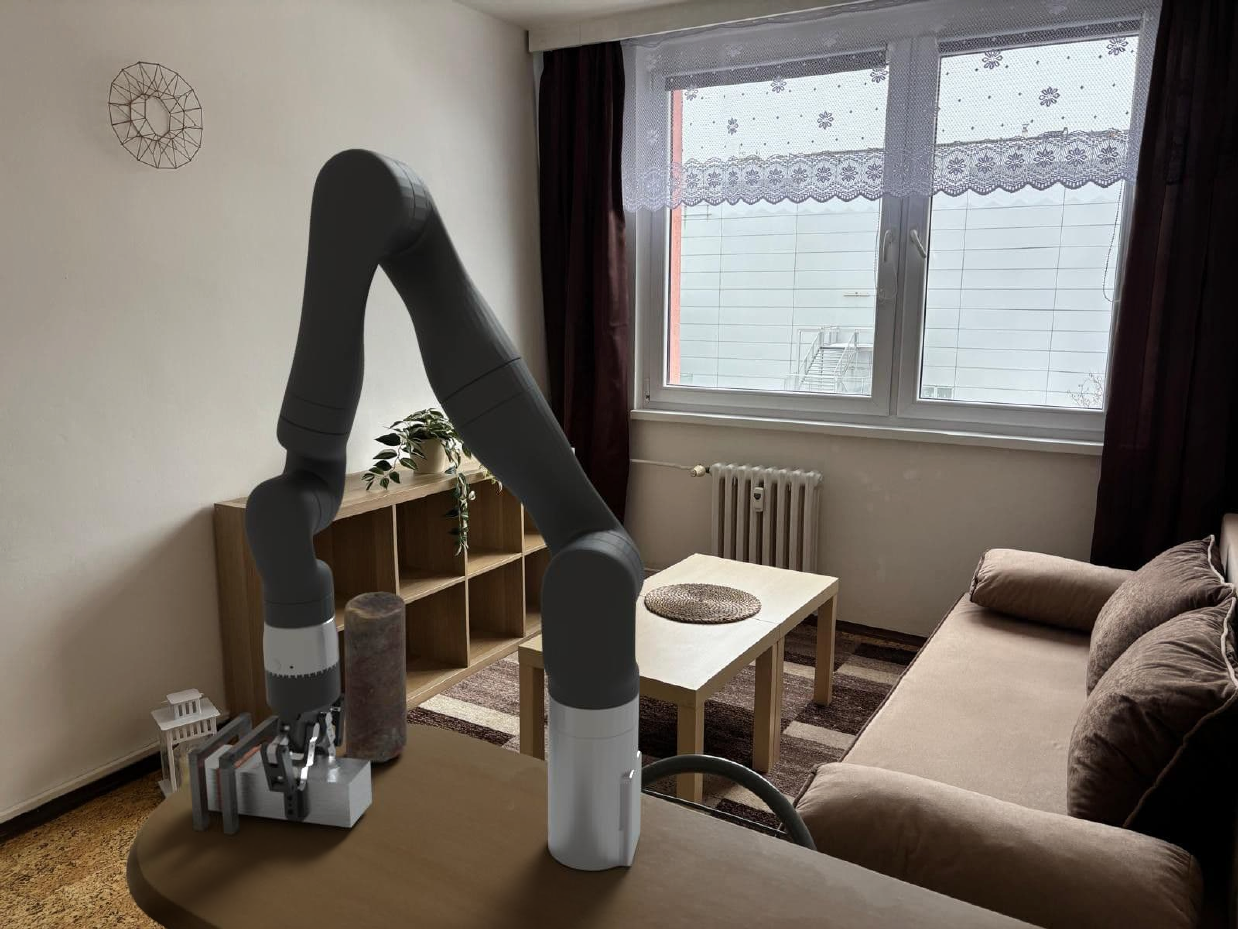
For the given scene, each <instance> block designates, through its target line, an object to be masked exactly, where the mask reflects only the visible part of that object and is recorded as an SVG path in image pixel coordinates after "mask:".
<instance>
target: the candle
mask: <svg viewBox="0 0 1238 929" xmlns="http://www.w3.org/2000/svg"><path fill="white" fill-rule="evenodd" d="M343 631H344V632H343V634H344V683H345V686H344V687H345V688H344V689H345V690H344V691H345V693H344V694H345V695H346V704H345V718H344V728H345V754H346V758H352V759H361V760H370V763H372V764H373V763H380V764H381V763H385V762H387V761H389V760H390V759H393V758H395V757H397V756H398V755H399V754H400V753H401V752H403V750H404V749H406V747H407V745H408V717H407V715H408V712H407V711H408V710H407V709H408V707H407V706H408V705H407V704H408V703H407V671H406V670H407V667H406V666H407V664H406V663H407V662H406V657H407V656H406V603H405V600H404V598H403V597H402V596H400V595H398V594H394V593H393V592H391V593H390V592H388V591H387V592H386V591H378V592H377V591H376V592H365V593H362V594H359V595H357V596H354V597H353V598H352V599H350V600H348V601H347V603H345V606H344V612H343Z"/></svg>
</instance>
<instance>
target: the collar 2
mask: <svg viewBox="0 0 1238 929" xmlns="http://www.w3.org/2000/svg"><path fill="white" fill-rule="evenodd" d="M278 719H279V716H278V715H270V716H268V717H267V718H266V719H265V720H263V721H262V722H261V723H260V724H258V725H257V726H256V727H254V729H253V728H252V731H251V732H250V733H248V734H247V735H246V736H245V737H243V738H242V739H241V740H240V741H239V740H238V741H237V742H236V743H235V744H233V745H234V746H232V747H231V748H230V749H229V750H227V751H226V752H225V753H224V754H222V755H221V756H220V757H219V758H218V759H219V773H220V786H221V800H222V813H221V814H222V823H223V824H222V825H223V834H224V835H231V836H233V835H235V833H236V832H238V830H239V829H240V821H239V814H238V803H237V789H236V775H235V763H236V762H237V761H238V760H240V759H241V758H242V757H243V756H244V755H246V754H247V753H248V752H249V751H250V750H252V749H253V748H254V747H257V746H258V745H259V744H260V743H261V742H262V741H263V740H266V743H272V742H273V741H274V739H275V738H276V737H277V726H278Z"/></svg>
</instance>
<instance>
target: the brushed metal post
mask: <svg viewBox="0 0 1238 929" xmlns="http://www.w3.org/2000/svg"><path fill="white" fill-rule="evenodd" d="M234 745H235V744H233V745H232V744H225V745H223V746H222V747H221V748H219V749H218V750H217V751H216V752H214V753H213V754H212V755H211V756H209V757H208V758H207V759H206V760H205V770H206V783H207V796H208V809H209V811H213V812H220V813H221V812H222V800H221V786H220V773H219V759H218V758H219V757H220V756H221V755H222V754H224V753H225V752H226V751H227V750H229V749H230V748H231V747H232V746H234ZM260 748H261V746H260V747H259V746H255V747H254V748H253V749H252V750H250V751H249V752H248V753H247V754H246V755H244V756H243V757H242V758H241V759H240V760H238V761H237V762H236V763H235V775H236V789H237V803H238V815H248V816H255V817H263V818H271V819H278V820H279V819H280V820H286V821H289V820H288V819H287V818H286V817H285V809H284V806H285V805H284V793H281V792H273V791H269V787H268V783H267V779H266V775H265V771H264V767H263V762H262V758H261V754H260ZM303 756H304V754H297V753H292V755H291V757H298V758H303ZM293 771H294V775H295V777H296V778H297V773H298V768H297V767H294V766H293ZM371 771H372V770H371V762H370V760H361V759H352V758H348V757H341V756H335V757H334V756H325V755H316V754H314V757H313V763H312V765H311V766H309V767H308V769H307V777H306V785H305V787H306V798H307V817H306V818H305V819H304V820H303V821H302V822H301V823H310V824H319V825H326V826H337V827H342V828H352V827H353V826H354V825H355V823H356V822H357V821H358V820H359V818H360V817H361V816H362V815H363V814H364V813H365V811H366V810H367V809H368V808H369V807H370V805H371V804H372V802H373V798H372V797H373V796H372V795H373V794H372V793H373V792H372V775H371V774H372V772H371ZM278 779H279V776H278Z"/></svg>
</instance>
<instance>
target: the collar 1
mask: <svg viewBox="0 0 1238 929" xmlns="http://www.w3.org/2000/svg"><path fill="white" fill-rule="evenodd" d="M252 730H253V722H252V713H251V712H241V714H239V715H237V717H235V718H234V719H233V720H231V721H230V722H229V723H227V724H226V725H225V726H223V727H222V728H221V729H219V730H218V731H217V732H216V733H214V734H213V735H212V736H210V737H209V738H207V739H206V740H205V741H203V742H202V743H201V744H200V745H198V746H197V747H196V748H195V749H193V750H192V751H190V752H189V753H188V754H187V756H188V757H187V758H188V768H189V783H190V794H191V795H190V796H191V804H192V806H191V807H192V820H193V830H195V831H202V832H203V831H205V830H206V829H207V828H208V827H210V812H209V811H210V810H209V809H208V796H207V783H206V770H205V760H206V759H207V758H208V757H209V756H211V755H212V754H213V753H214V752H216V751H217V750H218V749H219V748H221V747H222V746H223V745H227V744H228V742H230V741H231V740H233V738H235V737H236V736H237V735H238V742H239V741H240V740H241V739H242V738H243V737H245V736H246V735H247V734H248V733H250V732H251V731H252Z"/></svg>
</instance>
